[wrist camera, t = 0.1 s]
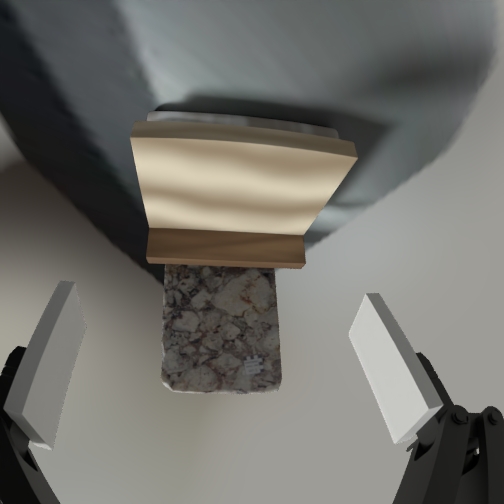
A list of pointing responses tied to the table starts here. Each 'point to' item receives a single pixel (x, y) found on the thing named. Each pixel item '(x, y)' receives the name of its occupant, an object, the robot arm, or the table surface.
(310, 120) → the table surface
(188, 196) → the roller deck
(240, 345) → the stone block
